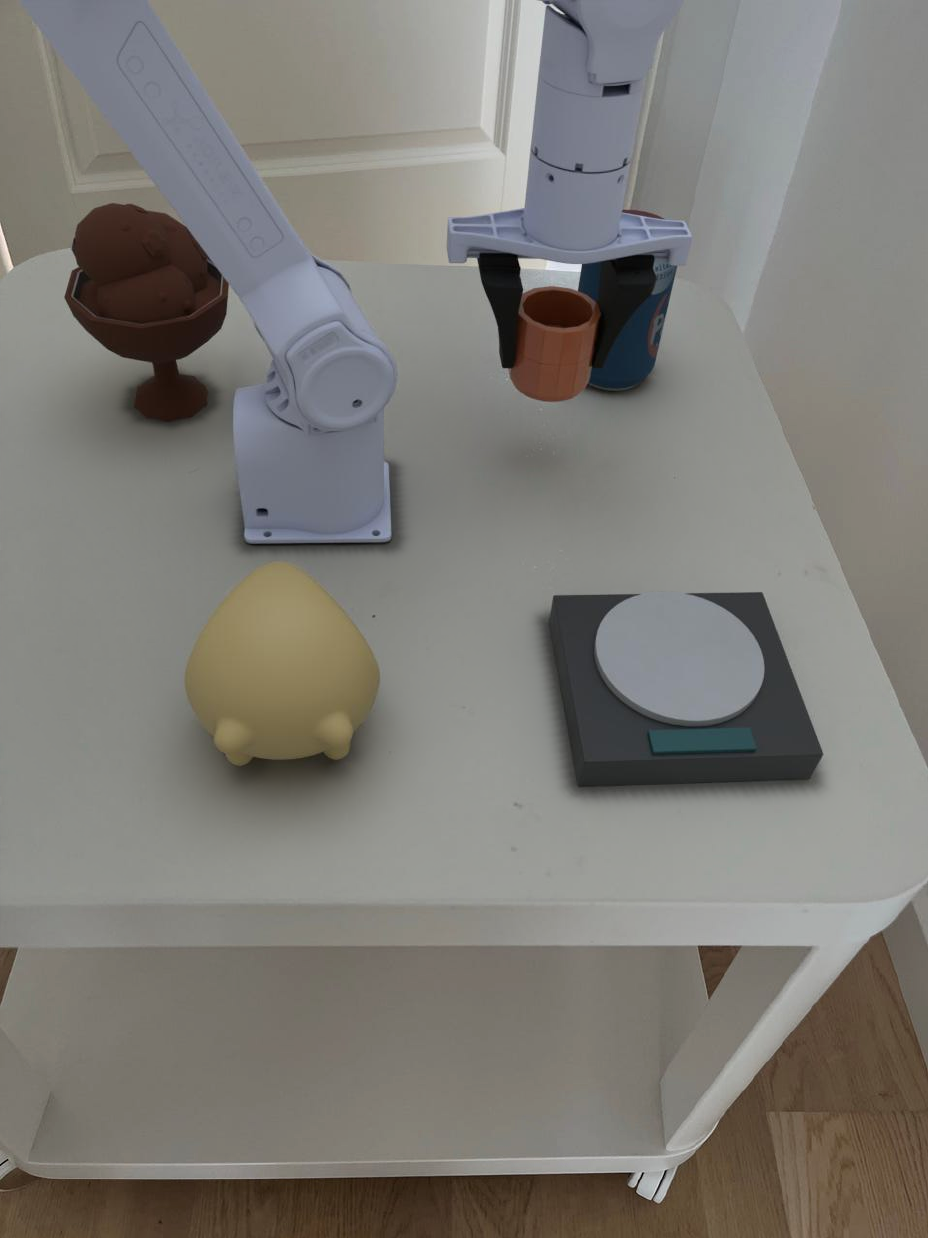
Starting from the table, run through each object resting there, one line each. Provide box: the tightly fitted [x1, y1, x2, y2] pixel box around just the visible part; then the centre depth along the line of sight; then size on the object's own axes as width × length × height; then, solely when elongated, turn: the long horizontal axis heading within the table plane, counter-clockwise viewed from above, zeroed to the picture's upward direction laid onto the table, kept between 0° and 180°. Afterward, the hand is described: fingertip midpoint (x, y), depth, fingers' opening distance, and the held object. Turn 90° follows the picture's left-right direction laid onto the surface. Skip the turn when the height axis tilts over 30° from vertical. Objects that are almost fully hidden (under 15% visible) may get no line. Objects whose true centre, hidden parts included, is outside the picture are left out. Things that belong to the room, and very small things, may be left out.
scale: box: [548, 591, 824, 787], centre depth 57 cm, size 13×12×3 cm
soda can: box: [577, 209, 678, 392], centre depth 76 cm, size 7×7×12 cm
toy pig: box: [183, 560, 381, 767], centre depth 53 cm, size 10×12×11 cm
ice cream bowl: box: [64, 202, 230, 422], centre depth 69 cm, size 11×11×15 cm
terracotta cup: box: [507, 285, 601, 403], centre depth 66 cm, size 5×6×5 cm
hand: (551, 359), depth 66 cm, fingers closed on terracotta cup, 5 cm apart
